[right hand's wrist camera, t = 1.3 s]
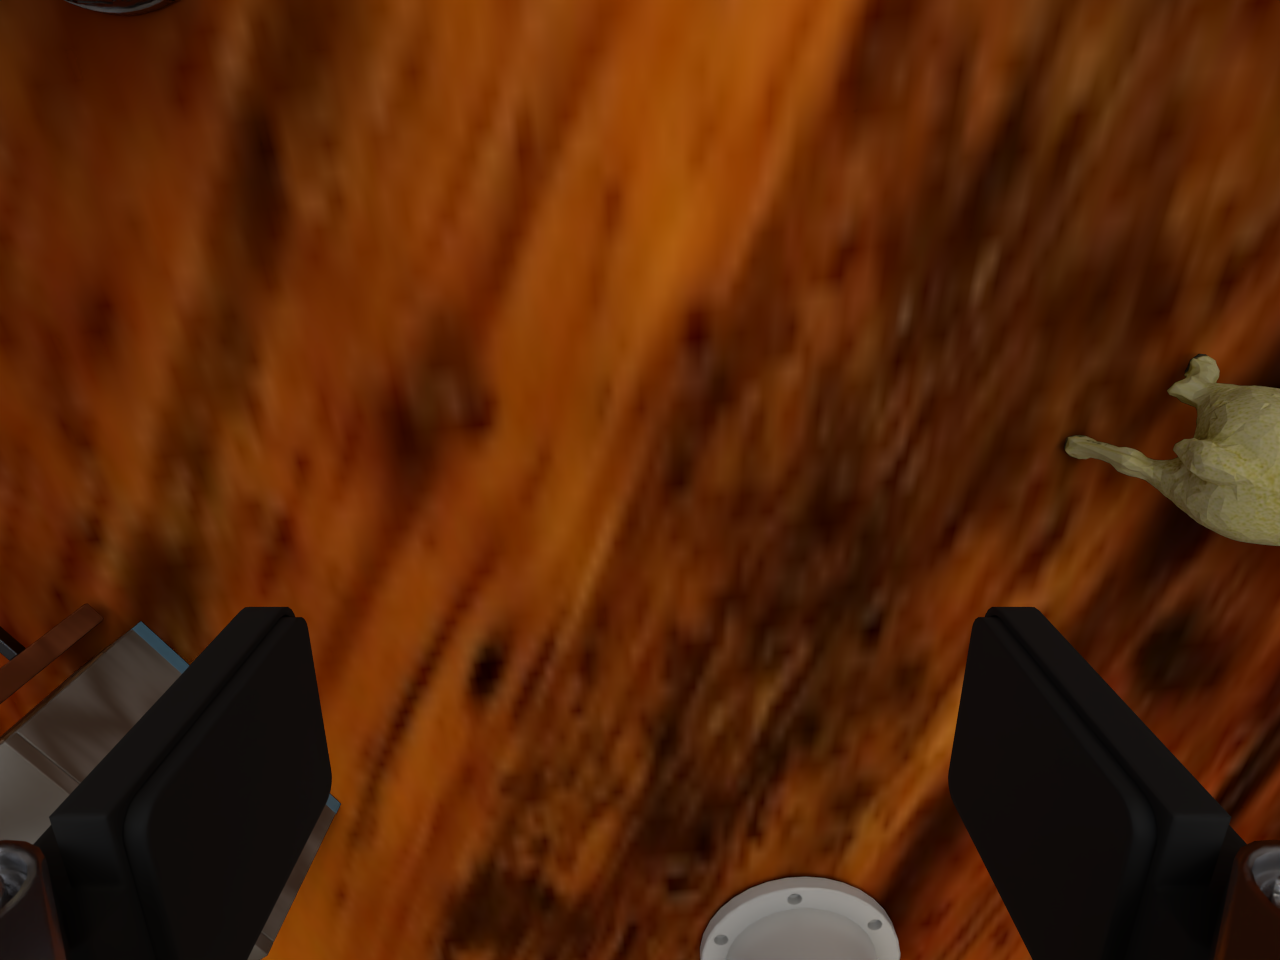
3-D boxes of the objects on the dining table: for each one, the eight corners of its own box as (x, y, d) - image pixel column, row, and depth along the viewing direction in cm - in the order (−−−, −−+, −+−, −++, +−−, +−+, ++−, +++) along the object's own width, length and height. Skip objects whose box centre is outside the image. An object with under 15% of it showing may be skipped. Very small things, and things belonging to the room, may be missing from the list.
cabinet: (71, 675, 45) (-80, 806, 36) (141, 621, 44) (3, 741, 34) (272, 848, 49) (185, 1007, 40) (340, 803, 48) (268, 955, 39)
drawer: (-52, 576, 42) (-210, 666, 34) (4, 528, 41) (-145, 610, 33) (230, 817, 47) (149, 943, 40) (284, 780, 46) (213, 901, 39)
